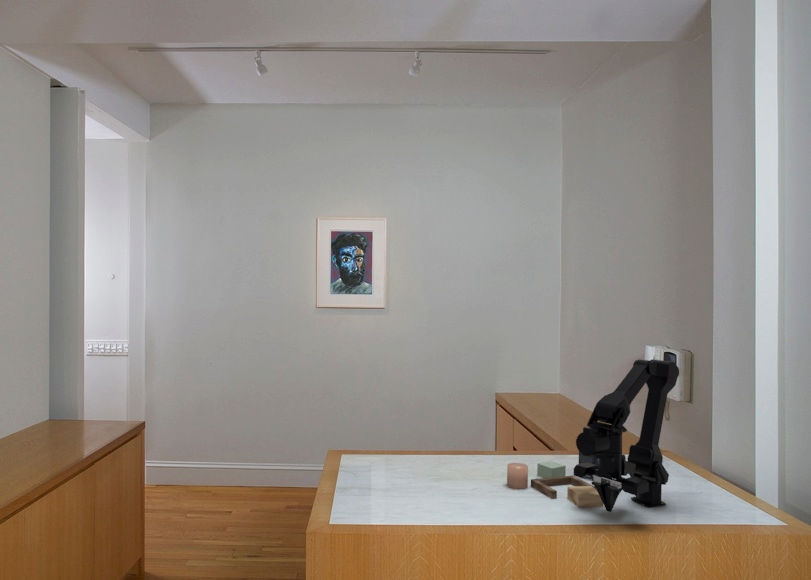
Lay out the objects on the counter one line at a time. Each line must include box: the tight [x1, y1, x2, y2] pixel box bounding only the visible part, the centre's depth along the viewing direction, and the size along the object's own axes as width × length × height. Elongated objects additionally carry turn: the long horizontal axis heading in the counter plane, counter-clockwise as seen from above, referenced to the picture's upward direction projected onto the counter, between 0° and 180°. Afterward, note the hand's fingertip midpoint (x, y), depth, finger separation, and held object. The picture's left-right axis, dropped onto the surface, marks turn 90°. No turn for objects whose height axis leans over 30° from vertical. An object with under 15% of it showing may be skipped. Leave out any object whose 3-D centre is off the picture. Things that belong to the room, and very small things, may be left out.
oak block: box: [566, 485, 604, 508], centre depth 156 cm, size 7×7×4 cm
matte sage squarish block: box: [536, 460, 567, 478], centre depth 178 cm, size 6×6×4 cm
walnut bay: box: [530, 474, 596, 500], centre depth 166 cm, size 11×14×2 cm
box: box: [578, 451, 598, 481], centre depth 180 cm, size 8×6×11 cm
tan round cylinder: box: [506, 462, 529, 491], centre depth 168 cm, size 6×6×6 cm
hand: (609, 511), depth 147 cm, fingers closed
